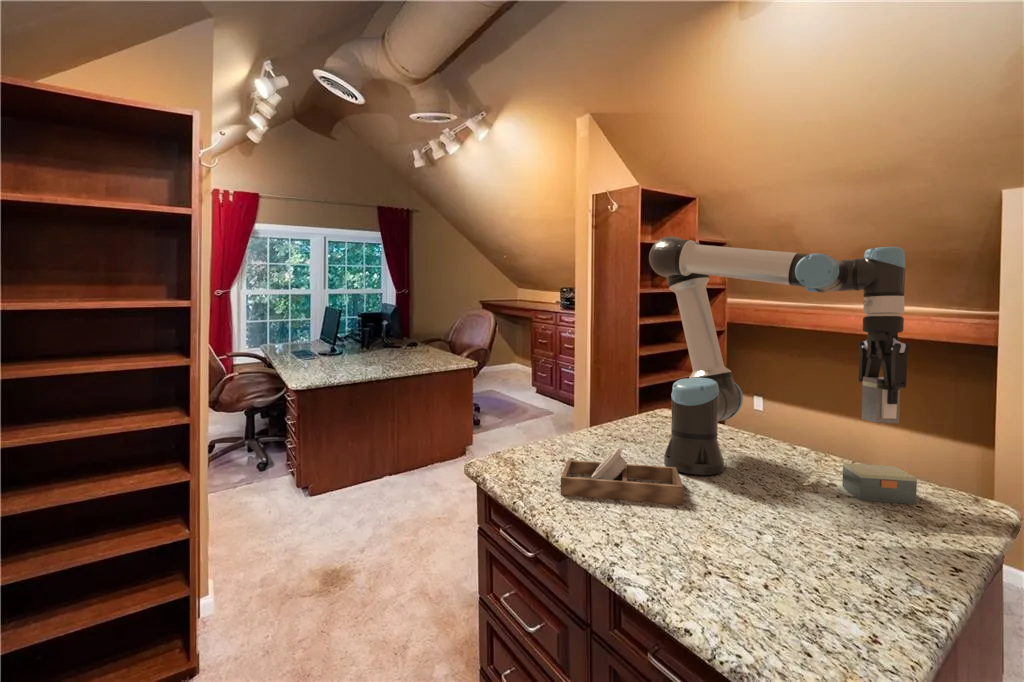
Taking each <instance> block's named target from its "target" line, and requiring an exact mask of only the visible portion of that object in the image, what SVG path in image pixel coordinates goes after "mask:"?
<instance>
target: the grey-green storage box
mask: <svg viewBox="0 0 1024 682" xmlns="http://www.w3.org/2000/svg"><path fill="white" fill-rule="evenodd" d="M842 486H843V487H844V488H845V489H846V490H845V489H844V488H843V487H842V488H843V489H844V490H845V491H847V493H850V494H851V495H853V496H854V497H855V498H856V499H858V501H866V502H876V503H878V502H879V503H893V504H906V505H917V489H918V487H917V486H918V477H916V476H914V475H913V474H911V473H909V472H907V471H905V470H903V469H901V468H899V467H897V466H895V465H882V464H881V465H880V464H878V465H877V464H866V463H865V464H864V463H863V464H862V463H850V462H849V463H847V462H843V463H842Z"/></svg>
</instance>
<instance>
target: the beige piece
mask: <svg viewBox="0 0 1024 682" xmlns="http://www.w3.org/2000/svg"><path fill="white" fill-rule="evenodd" d="M622 452H623V450H622V448H620V447H617V448H616V449H615V450H614V451H612V452H610V454H608V455H607V457H605V458H604V459H603V460H602V461H601V462H602V463H601V464H600V465H599V466H598V467H597V469H596V471H595V472H594V473H593V475H591V476H590V477H591V479H603V480H616V478H618V477H617V476H618V475H619V474H620V473H621V472H622V470H623V469H624V468H625V466H626V464H628V461H626V460H625V459H624V458H623V457H622V455H621V454H622Z"/></svg>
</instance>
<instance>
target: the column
mask: <svg viewBox="0 0 1024 682" xmlns="http://www.w3.org/2000/svg"><path fill="white" fill-rule="evenodd" d="M861 384H862V390H861V392H862V393H861V397H862V398H861V419H862V420H864V421H868V422H871V423H875V424H900V406H901V405H900V404H901V389H899V390H898V399H897V400H898V402H897V411H896V419H895V418H881V416H882V387H885V382H884V376H879V377H863V382H861Z"/></svg>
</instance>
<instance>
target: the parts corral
mask: <svg viewBox="0 0 1024 682" xmlns="http://www.w3.org/2000/svg"><path fill="white" fill-rule="evenodd" d="M602 462H603V461H587V460H574V459H573V460H572V459H567V462H566V464H565V466H564V468H563V471H562V473H561V477H560V495H561V496H573V497H581V498H583V497H584V498H596V499H605V500H606V499H609V500H617V501H618V500H621V501H631V502H643V503H654V504H656V503H657V504H667V505H678V506H679V505H681V506H684V484H683V482H682V480H681V478H680V475H679V471H677V469H676V467H666V466H664V465H663V466H662V465H649V464H648V465H645V464H634V463H633V464H631V463H630V464H629V463H627V464H626V466H625V468H624V469H623V470H622V472H621V473H620V474H619V475H618V476H617V477H616V478H621V480H617V479H614V480H603V479H599V478H598V479H593V478H587V477H573V476H572V477H571V475H570V474H580V475H591V476H592V475H593V473H594V472H595V471H596V469H597V467H598V466H599V465H600V464H601V463H602ZM628 479H634V480H643V481H645V480H646V481H652V482H642V481H641V482H640V481H639V482H638V481H628ZM653 481H654V482H653ZM655 481H657V482H664V483H655ZM665 482H666V483H671V484H666V483H665Z"/></svg>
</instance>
